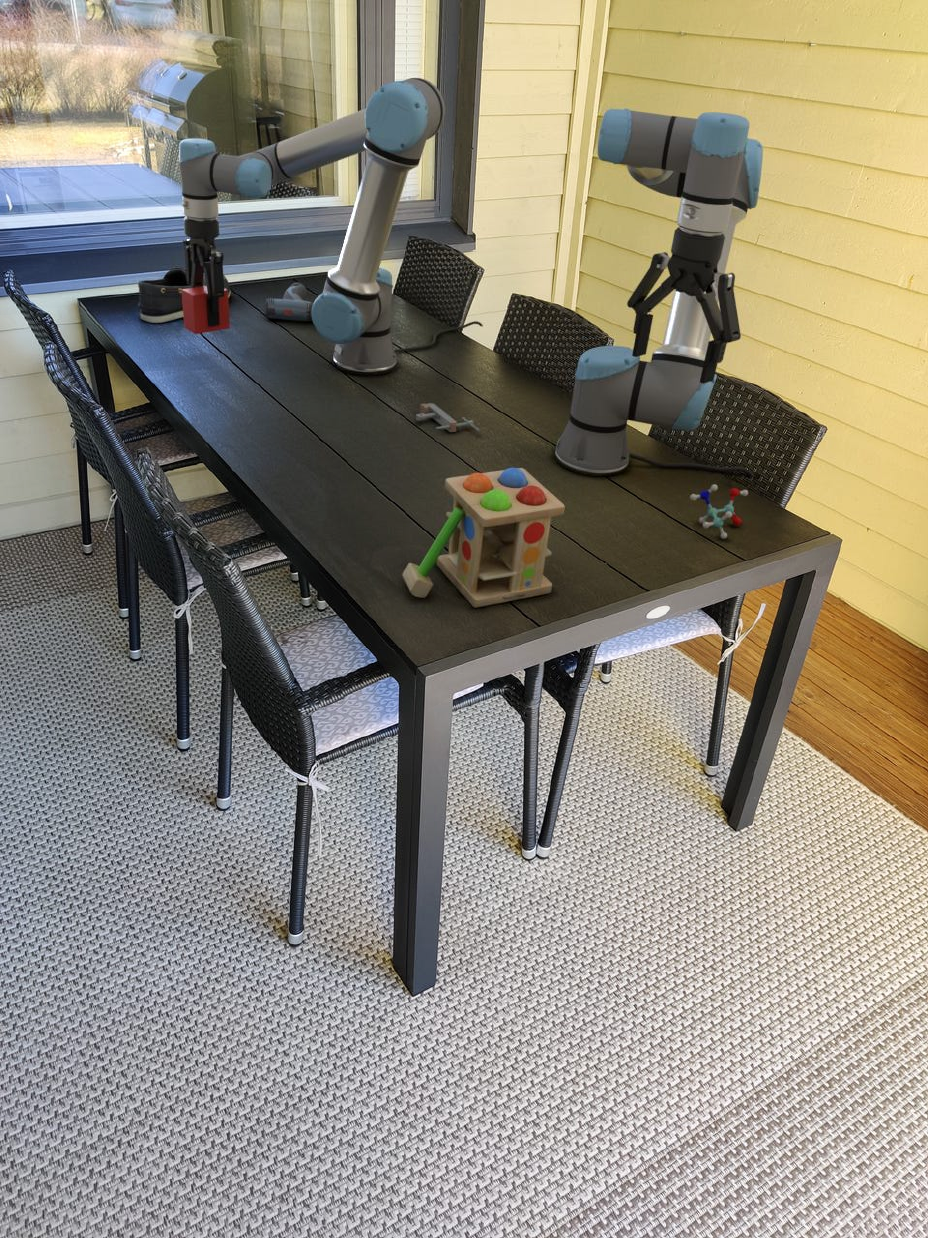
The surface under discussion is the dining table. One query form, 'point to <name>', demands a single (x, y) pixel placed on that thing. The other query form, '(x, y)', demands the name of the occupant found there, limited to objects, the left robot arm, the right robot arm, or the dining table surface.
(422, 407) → the clamp
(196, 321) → the block
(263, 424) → the dining table surface
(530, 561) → the pounding bench toy
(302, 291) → the power drill
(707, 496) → the molecular model
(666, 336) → the right robot arm
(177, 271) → the boat shoe
